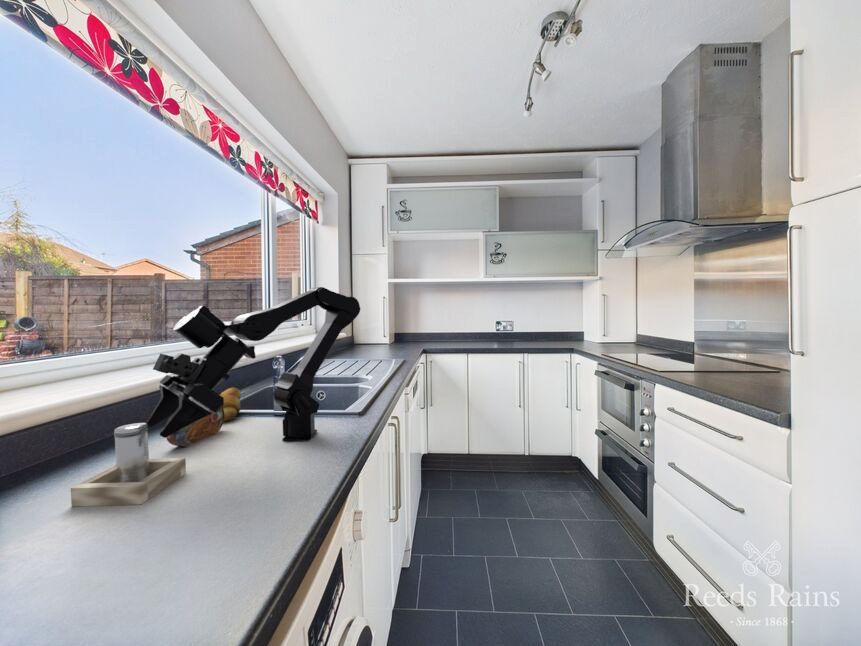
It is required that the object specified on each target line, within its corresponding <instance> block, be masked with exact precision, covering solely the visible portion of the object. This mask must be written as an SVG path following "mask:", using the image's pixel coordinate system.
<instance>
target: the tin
mask: <svg viewBox="0 0 861 646" xmlns="http://www.w3.org/2000/svg"><path fill="white" fill-rule="evenodd" d="M209 412H210V413H212V414H211V415H210V416H209V415H208V416H206V417H204V418H202V419H200V420H198V421H196V422H194V423H192V424H190V425H188V426H186V427H184V428H182V429H180V430H179V431H177V432H175V433H173V434H171V435H169V436H168V437H166V441H167V442H168V443H169V444H170V445H172V446H176V447H189V446H191V444H192V445H194V444H196V443H198V442H200V441H202V440H204V439H207V438H210V437H211V436H214V435H216V434H217V433H218V432H219V431H220V430H221V428H222V427H223V425H224V422H225V421H224V409H223V407H221V409H220V410H219V411H218V412H217V413H215V412H213V411H211V410H209ZM172 415H173V414H171V415H170V416H169V417H168V419H167V421H166V424H167V422H168V421H169V419H170V418H171V417H172ZM166 424H165V425H166Z"/></svg>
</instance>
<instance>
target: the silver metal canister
mask: <svg viewBox="0 0 861 646" xmlns="http://www.w3.org/2000/svg"><path fill="white" fill-rule="evenodd" d="M146 423H147V422H136V423H129V424H124V425H121V426H118V427H116V428H114V432H113V436H114V446H115V448H114V449H115V463H116V470H117V483H123V482H139V481H141V480H142V479H144V478H146V477H147V476H149V475H150V473H149V459H150V458H149V457H150V456H149V434H148V433H149V432H148V431H149V426H147V424H146Z"/></svg>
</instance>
